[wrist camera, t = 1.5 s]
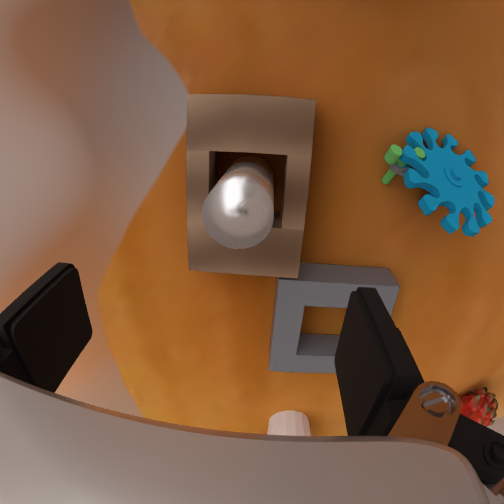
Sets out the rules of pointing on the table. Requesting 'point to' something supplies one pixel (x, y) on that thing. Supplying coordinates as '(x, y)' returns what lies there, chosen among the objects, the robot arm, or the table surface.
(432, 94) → the table surface
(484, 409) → the dragon fruit
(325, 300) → the socket block
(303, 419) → the white fluted cup
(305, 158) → the brown rectangular frame
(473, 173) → the gear
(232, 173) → the axle
